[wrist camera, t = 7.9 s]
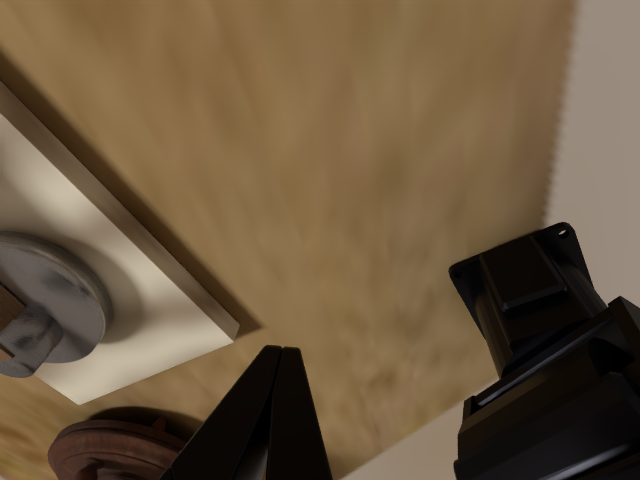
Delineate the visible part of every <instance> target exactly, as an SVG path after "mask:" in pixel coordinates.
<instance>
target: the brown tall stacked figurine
mask: <svg viewBox="0 0 640 480" xmlns="http://www.w3.org/2000/svg"><path fill="white" fill-rule="evenodd" d="M165 426H166V419H165V417H163V416H161V417H159V418H158V419H157V420H156V421H155V422H154V423H153V425H152V426H151V427H148V426H144V425H141V424H136V423H131V422H125V421H117V420H89V421H82V422H78V423H75V424H72V425H70V426H68V427H66V428H65V429H63V430H62V431H61V432H60V433H59V434H58V436H57V437H56V439H55V440H54V442H53V443H52V445H51V446H50V448H49V451H48V461H49V464H50V466H51V468H52V470H53V471H54V472H55V474H56V476H57V478H58V479H59V480H158V479H159V478H160V476H161V475H162V474H163V473H164V471H165V470H166V469H167V468H170V464H171V463H172V462H173V460H174V459H175V458H176V457H177V455H178V454H179V453H180V452H181V450H182V449H183V448H184V447H185V445H186V444H187V443H186V442H184V441H183V440H181V439H179V438H177V437H175V436H173V435H170V434H168V433H166V432H164V431H165ZM170 469H171V468H170Z"/></svg>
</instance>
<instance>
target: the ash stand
mask: <svg viewBox="0 0 640 480" xmlns="http://www.w3.org/2000/svg"><path fill="white" fill-rule="evenodd" d="M0 230H5V231H16V232H21V233H26V234H29V235H33V236H36V237H39V238H42V239H44V240H47V241H49V242H51V243H53V244H55V245H57V246H59V247H61V248H63V249H64V250H66V251H68V252H69V253H71V254H72V255H74V256H75V257H77V258H78V259H79V260H80V261H82V262H83V263H84V264H85V265H86V266H87V267H88V268H89V269H90V270H92V271H93V272H94V274H95V275H96V276H97V277H98V278H99V279H100V281H101V282H102V284H103V285H104V287H105V288H106V290H107V292H108V294H109V296H110V299H111V302H112V306H113V320H112V323H111V325H110V328H109V329H108V330H107V332H106V333H105V335H104V336H103V337H102V339H101V340H100V342H99V343H98V344H97V346H96V347H95V348H94V350H93V351H92V352H91V353H90V354H89V355H88V356H86V357H84V358H82V359H80V360H77V361H74V362H69V363H42V364H41V366H40V367H39V368H38V369H37V370H36V372H35V373H34V375H35V376H37V377H38V378H40V379H41V380H43V381H44V382H46V383H47V384H49V385H50V386H51V387H53V388H54V389H56V390H57V391H59V392H60V393H62V394H63V395H65V396H66V397H68V398H69V399H71V400H72V401H73V402H75V403H76V404H78V405H81V404H83V403H86V402H88V401H91V400H93V399H95V398H98V397H100V396H103V395H105V394H108V393H110V392H113V391H115V390H118V389H120V388H122V387H125V386H127V385H130V384H132V383H135V382H137V381H140V380H142V379H145V378H147V377H149V376H152V375H154V374H157V373H159V372H162V371H164V370H167V369H169V368H172V367H174V366H176V365H179V364H181V363H184V362H186V361H189V360H191V359H194V358H196V357H199V356H201V355H204V354H206V353H208V352H211V351H213V350H216V349H218V348H221V347H223V346H226V345H228V344H231V343H233V342H234V341H235V338H236V335H237V332H238V329H239V326H240V324H239V323H238V322H237V321H236V320H235V319H234V318H233V317H232V316H231V315H230V314H229V313H228V312H227V311H226V310H225V309H224V308H223V307H222V306H221V305H220V304H219V303H218V302H217V301H216V300H215V299H214V298H213V297H212V296H211V295H210V294H209V293H208V292H207V291H206V290H205V289H204V288H203V287H202V286H201V285H200V284H199V283H198V282H197V281H196V280H195V279H194V278H193V277H192V276H191V275H190V273H189V272H188V271H187V270H186V269H185V268H184V267H183V266H182V265H181V264H180V263H179V262H178V261H177V260H176V259H175V258H174V257H173V256H172V255H171V254H170V253H169V252H168V251H167V250H166V249H165V248H164V247H163V246H162V245H161V244H160V243H159V242H158V241H157V240H156V239H155V238H154V237H153V236H152V235H151V234H150V233H149V232H148V231H147V230H146V229H145V228H144V227H143V226H142V225H141V223H140V222H139V221H138V220H137V219H136V218H135V217H134V216H133V215H132V214H131V213H130V212H129V211H128V210H127V209H126V208H125V207H124V206H123V205H122V204H121V203H120V202H119V201H118V200H117V199H116V198H115V197H114V196H113V195H112V194H111V193H110V192H109V191H108V190H107V189H106V188H105V187H104V186H103V185H102V184H101V183H100V182H99V181H98V180H97V179H96V178H95V177H94V176H93V175H92V174H91V172H90V171H89V170H88V169H87V168H86V167H85V166H84V165H83V164H82V163H81V162H80V161H79V160H78V159H77V158H76V157H75V156H74V155H73V154H72V153H71V152H70V151H69V150H68V149H67V148H66V147H65V146H64V145H63V144H62V143H61V142H60V141H59V140H58V139H57V138H56V137H55V136H54V135H53V134H52V133H51V132H50V131H49V130H48V129H47V128H46V127H45V126H44V125H43V124H42V123H41V121H40V120H39V119H38V118H37V117H36V116H35V115H34V114H33V113H32V112H31V111H30V110H29V109H28V108H27V107H26V106H25V105H24V104H23V103H22V102H21V101H20V100H19V99H18V98H17V97H16V96H15V95H14V94H13V93H12V92H11V91H10V90H9V89H8V88H7V87H6V86H5V85H4V84H3V83H2V82H1V81H0Z"/></svg>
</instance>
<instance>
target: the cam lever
mask: <svg viewBox="0 0 640 480" xmlns="http://www.w3.org/2000/svg"><path fill="white" fill-rule="evenodd" d="M112 320H113V306H112V302H111V299H110V296H109V294H108V292H107V290H106V288H105V287H104V285H103V284H102V282H101V281H100V279H99V278H98V277H97V276H96V275H95V274H94V272H93V271H92V270H90V269H89V268H88V267H87V266H86V265H85V264H84V263H83V262H82V261H80V260H79V259H78V258H77V257H75V256H74V255H72V254H71V253H69V252H68V251H66V250H64V249H63V248H61V247H59V246H57V245H55V244H53V243H51V242H49V241H47V240H44V239H42V238H39V237H36V236H33V235H29V234H26V233H21V232H16V231H5V230H0V373H1V374H4V375H7V376H11V377H17V378H24V377H29V376H31V375H33V374H34V373H35V372H36V370H37V369H38V368H39V367H40V366H41V364H42V363H69V362H74V361H77V360H80V359H82V358H84V357H86V356H88V355H89V354H90V353H91V352H92V351H93V350H94V348H95V347H96V346H97V344H98V343H99V342H100V340H101V339H102V337H103V336H104V335H105V333H106V332H107V330H108V329H109V328H110V325H111V323H112Z"/></svg>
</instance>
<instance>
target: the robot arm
mask: <svg viewBox="0 0 640 480" xmlns="http://www.w3.org/2000/svg"><path fill="white" fill-rule="evenodd" d="M564 230H566V231H565V232H564V233H563V234H560V235H559V233H560V232H561V231H564ZM458 271H461V273H459V274H455V273H456V272H458ZM448 272H449V275H450V278H451V280H452V282H453V284H454V286H455V287H456V289H457V291H458V293H459V294H460V296H461V298H462V300H463V301H464V303H465V305H466V307H467V308H468V310H469V312H470V314H471V316H472V317H473V319H474V321H475V323H476V324H477V326H478V328H479V330H480V331H481V333H482V335H483V337H484V339H485V340H486V342H487V344H488V347H489V350H490V353H491V356H492V359H493V362H494V365H495V367H496V370H497V373H498V376H499V379H500V380H499V381H497V382H496V383H494V384H493V385H491V386H490V387H488V388H487V389H485V390H484V391H482V392H481V393H479V394H478V395H476V396H471V397H469V398H468V399H467V400H465V401H464V408H463V421H462V425H461V428H460V430H459V433H458V459H457V460H455V461H454V472H455V476H456V480H640V308H639V307H637V306H635V305H634V304H632V303H631V302H629V301H628V300H626V299H625V298H623V297H622V296H619V297H617V298H616V299H614V300H613V301H611V302H610V303H608V306H609V307H607V306H606V304H605V303H604V302H603V300H602V299H601V298H600V296H599V295H598V294H597V292H596V291H595V290H594V287H593V284H592V281H591V278H590V275H589V272H588V269H587V266H586V263H585V260H584V257H583V255H582V251H581V248H580V245H579V242H578V239H577V236H576V233H575V231H574V229H573V228H572V227H571V225H570V224H568V223H566V222H561V223H557V224H555V225H552V226H549V227H547V228H544V229H542V230H539V231H537V232H534V233H532V234H529V235H527V236H524V237H522V238H519V239H517V240H514V241H512V242H509V243H507V244H504V245H501V246H499V247H496V248H494V249H491V250H489V251H486V252H484V253H481V254H479V255H476V256H474V257H471V258H469V259H466V260H464V261H461V262H459V263H456V264H454V265H452V266H451V267H450V268H449V271H448ZM266 463H267V468H266V480H333V478H332V474H331V470H330V466H329V462H328V458H327V454H326V451H325V447H324V443H323V439H322V435H321V431H320V427H319V423H318V419H317V415H316V411H315V407H314V403H313V399H312V395H311V391H310V387H309V383H308V379H307V375H306V371H305V367H304V363H303V359H302V355H301V351H300V349H299V348H297V347H287V346H286V347H284V348H282V347H281V346H276V345H266V346H265V347H264V348H263V349H262V350H261V351H260V353H259V354H258V355H257V356H256V358H255V359H254V360H253V361H252V363H251V364H250V365H249V366H248V368H247V369H246V370H245V371H244V373H243V374H242V375H241V376H240V378H239V379H238V380H237V381H236V383H235V384H234V385H233V386H232V388H231V389H230V390H229V391H228V393H227V394H226V395H225V396H224V398H223V399H222V400H221V401H220V403H219V404H218V405H217V406H216V408H215V409H214V410H213V411H212V413H211V414H210V415H209V416H208V418H207V419H206V420H205V422H204V423H203V424H202V425H201V427H200V428H199V429H198V430H197V432H196V433H195V434H194V435H193V437H192V438H191V439H190V440H189V442H188V443H187V444H186V445H185V447H184V448H183V449H182V450H181V452H180V453H179V454H178V455H177V457H176V458H175V459H174V460H173V462H172V463H171V464H170V468H171V469H170V468H167V469H166V470H165V471H164V473H163V474H162V475H161V476H160V478H159V479H158V480H262V478H263V474H264V470H265V467H266Z"/></svg>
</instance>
